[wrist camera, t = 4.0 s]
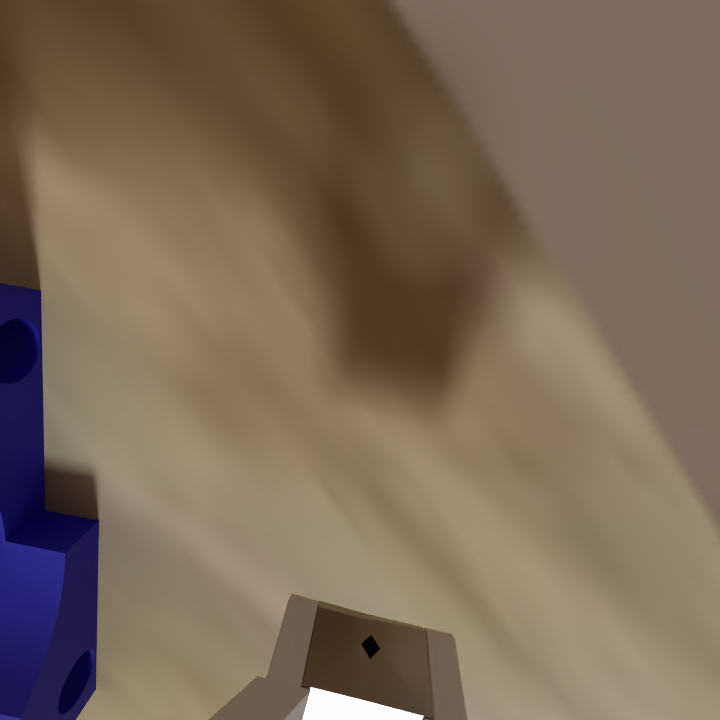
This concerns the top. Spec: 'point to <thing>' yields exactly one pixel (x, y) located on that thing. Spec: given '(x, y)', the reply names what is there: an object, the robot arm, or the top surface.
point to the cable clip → (38, 544)
